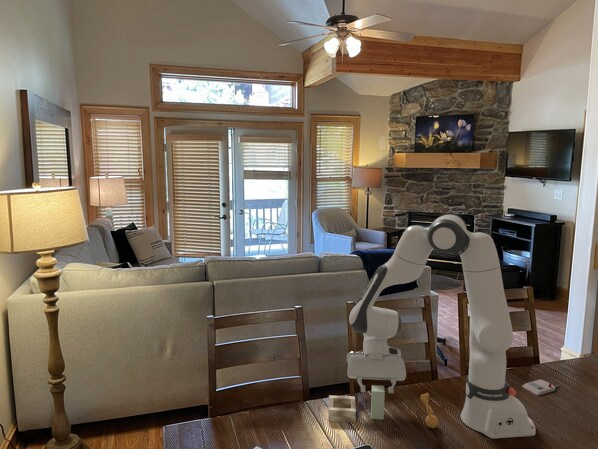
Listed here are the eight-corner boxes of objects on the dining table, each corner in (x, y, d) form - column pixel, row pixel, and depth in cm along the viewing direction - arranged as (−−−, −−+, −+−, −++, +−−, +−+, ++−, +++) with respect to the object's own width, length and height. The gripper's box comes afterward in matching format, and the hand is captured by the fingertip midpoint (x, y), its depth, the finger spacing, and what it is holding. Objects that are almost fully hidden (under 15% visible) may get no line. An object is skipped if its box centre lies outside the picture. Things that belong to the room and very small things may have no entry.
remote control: (518, 389, 167) (518, 382, 167) (546, 381, 174) (547, 374, 173) (533, 398, 161) (534, 390, 161) (562, 389, 168) (563, 381, 167)
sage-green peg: (382, 412, 151) (383, 385, 150) (383, 419, 147) (384, 391, 146) (370, 412, 152) (371, 385, 150) (371, 418, 148) (372, 391, 146)
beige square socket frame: (354, 407, 155) (354, 396, 154) (355, 422, 146) (355, 411, 145) (328, 405, 155) (329, 395, 155) (328, 421, 147) (328, 409, 146)
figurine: (442, 434, 139) (443, 399, 137) (423, 435, 139) (424, 400, 137) (432, 419, 147) (434, 386, 146) (415, 419, 147) (416, 386, 145)
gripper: (346, 348, 157) (346, 387, 149) (405, 350, 155) (408, 391, 147) (346, 354, 162) (346, 393, 154) (402, 356, 160) (405, 396, 152)
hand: (377, 392), depth 150 cm, fingers open, 8 cm apart
